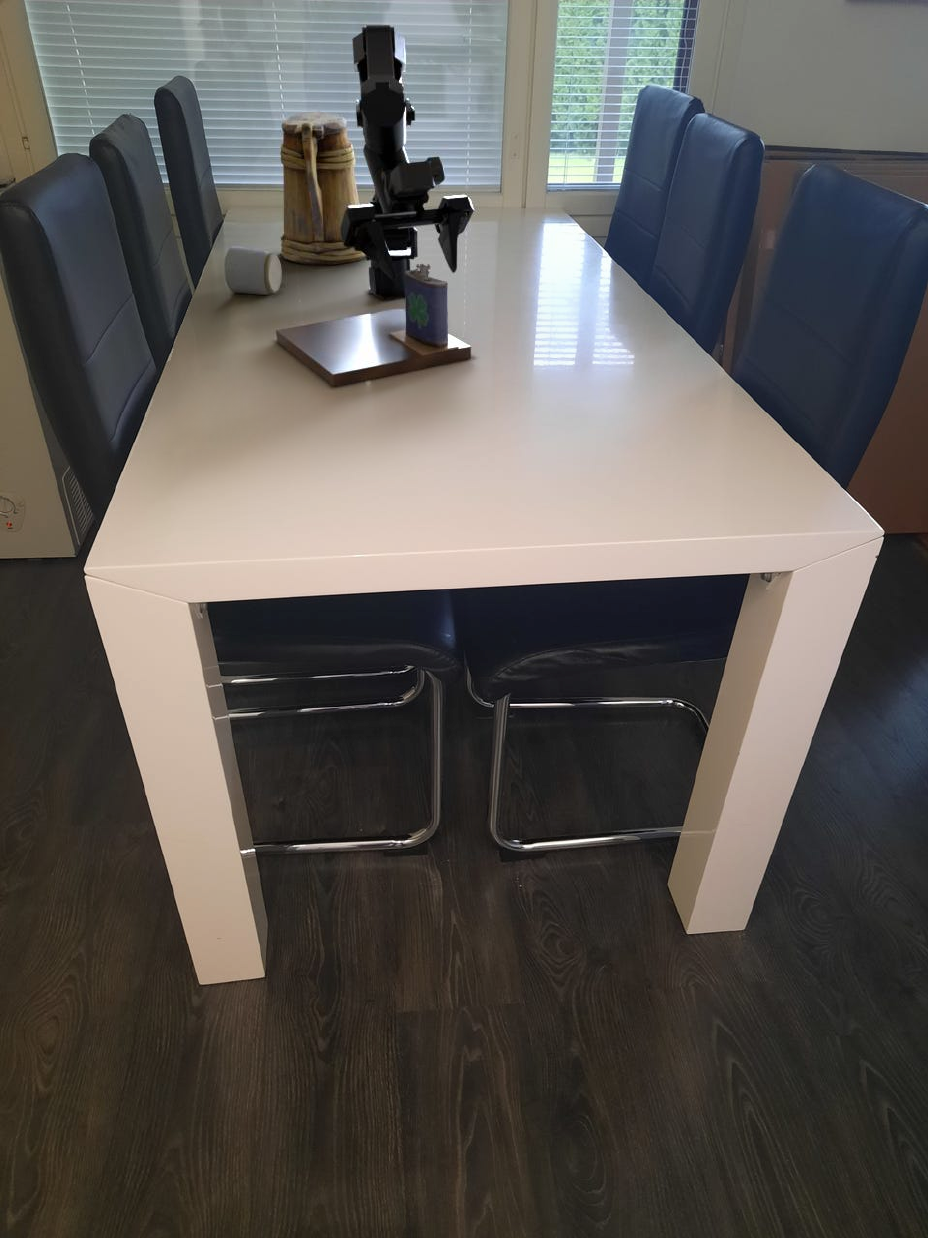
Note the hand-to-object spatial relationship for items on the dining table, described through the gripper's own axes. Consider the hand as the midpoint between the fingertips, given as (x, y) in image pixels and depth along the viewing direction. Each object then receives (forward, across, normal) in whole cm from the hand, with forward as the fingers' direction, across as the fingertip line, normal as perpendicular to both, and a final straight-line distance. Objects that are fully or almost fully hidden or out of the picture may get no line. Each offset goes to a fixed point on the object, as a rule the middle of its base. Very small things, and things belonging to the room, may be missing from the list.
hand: (425, 274), depth 120 cm
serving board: (+4, -6, +13) cm, 15 cm away
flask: (+6, 0, +8) cm, 10 cm away
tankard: (-36, +5, +53) cm, 64 cm away
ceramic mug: (-23, -14, +40) cm, 48 cm away
